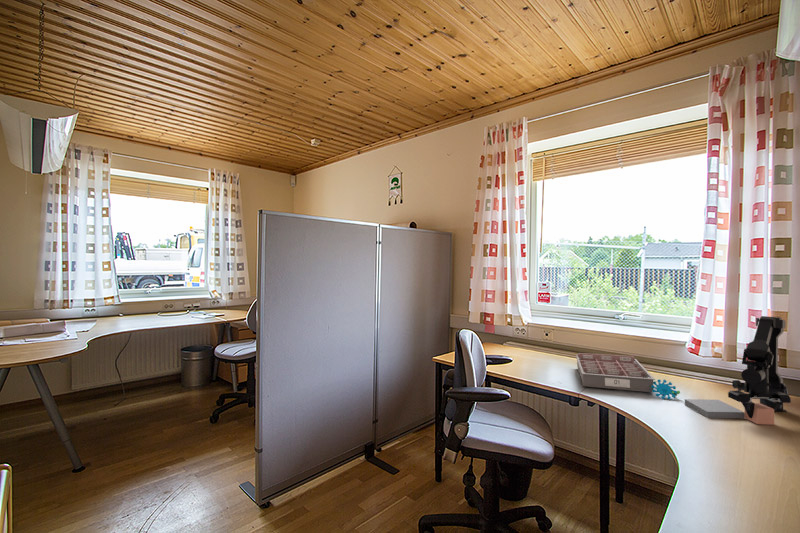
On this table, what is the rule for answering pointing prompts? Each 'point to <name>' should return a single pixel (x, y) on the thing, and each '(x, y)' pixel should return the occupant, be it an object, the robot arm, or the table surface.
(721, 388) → the table surface
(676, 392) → the blue spiky toy
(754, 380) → the robot arm
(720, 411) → the plinth
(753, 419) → the salmon pink cube
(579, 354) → the organizer tray
